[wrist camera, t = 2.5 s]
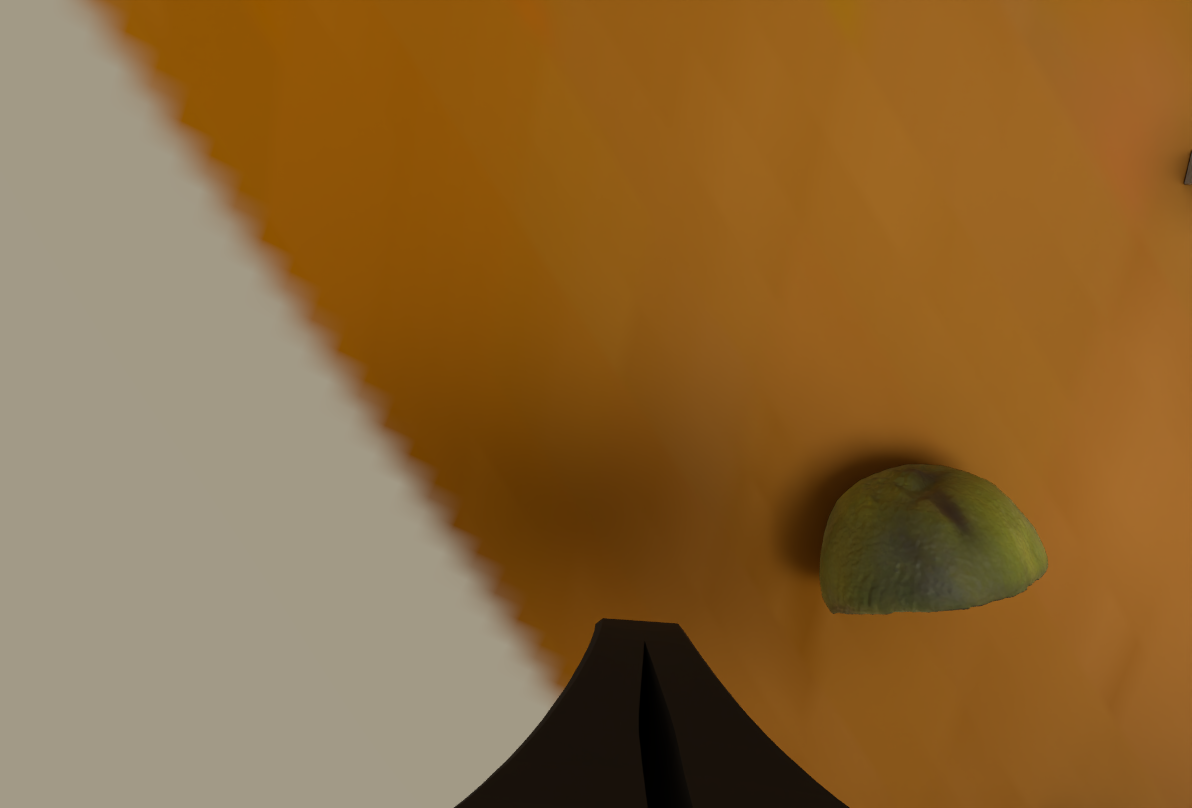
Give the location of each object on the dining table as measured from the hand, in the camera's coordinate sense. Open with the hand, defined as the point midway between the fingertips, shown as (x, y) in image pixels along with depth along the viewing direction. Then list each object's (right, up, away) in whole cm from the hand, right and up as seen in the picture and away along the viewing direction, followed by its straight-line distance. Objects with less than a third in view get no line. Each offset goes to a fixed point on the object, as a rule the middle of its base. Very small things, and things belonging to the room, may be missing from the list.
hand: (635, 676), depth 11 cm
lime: (+7, +1, +8) cm, 11 cm away
